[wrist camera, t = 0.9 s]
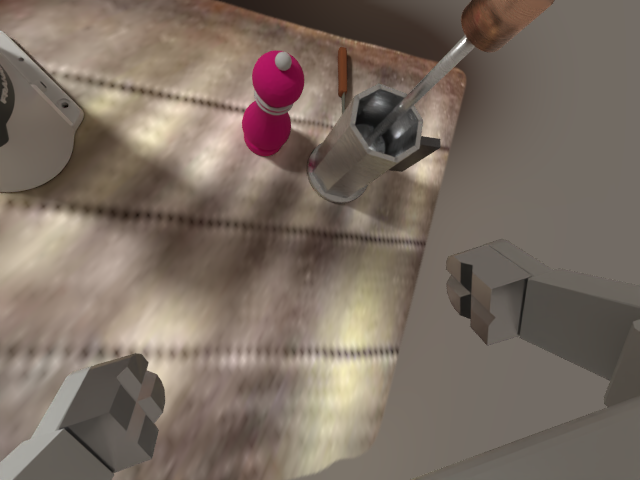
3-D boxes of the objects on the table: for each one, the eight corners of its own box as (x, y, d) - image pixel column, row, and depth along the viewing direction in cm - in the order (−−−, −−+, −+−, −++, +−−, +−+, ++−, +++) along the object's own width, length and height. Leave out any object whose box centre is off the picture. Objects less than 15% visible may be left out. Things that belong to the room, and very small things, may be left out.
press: (294, 159, 54) (326, 101, 36) (356, 125, 58) (411, 58, 41) (331, 217, 54) (380, 186, 37) (390, 179, 58) (458, 135, 41)
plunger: (335, 137, 44) (476, -51, 19) (368, 119, 46) (535, -75, 21) (359, 174, 44) (528, 36, 19) (390, 155, 46) (582, 5, 21)
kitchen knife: (336, 51, 59) (340, 44, 57) (343, 53, 59) (347, 45, 57) (337, 133, 57) (341, 128, 55) (344, 134, 57) (348, 129, 55)
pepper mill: (257, 167, 52) (275, 99, 33) (231, 129, 51) (235, 38, 32) (293, 146, 54) (330, 71, 35) (269, 110, 53) (293, 14, 34)
